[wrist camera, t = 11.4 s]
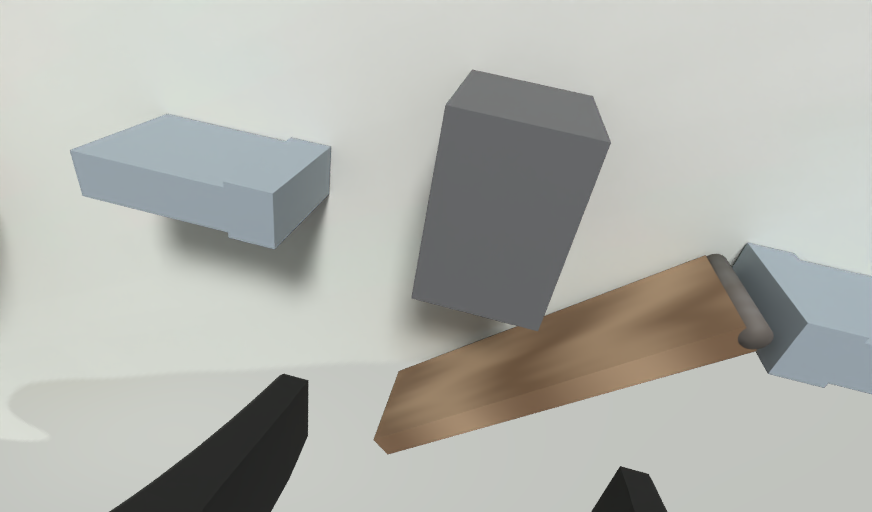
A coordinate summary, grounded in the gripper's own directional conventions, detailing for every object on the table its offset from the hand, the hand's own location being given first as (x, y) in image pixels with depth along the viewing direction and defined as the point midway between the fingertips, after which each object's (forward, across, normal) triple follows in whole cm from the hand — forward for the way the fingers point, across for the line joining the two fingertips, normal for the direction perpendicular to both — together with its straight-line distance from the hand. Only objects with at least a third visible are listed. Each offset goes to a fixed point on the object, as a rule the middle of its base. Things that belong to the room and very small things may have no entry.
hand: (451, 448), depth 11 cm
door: (+9, -3, +3) cm, 10 cm away
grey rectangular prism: (+10, 0, -3) cm, 10 cm away
